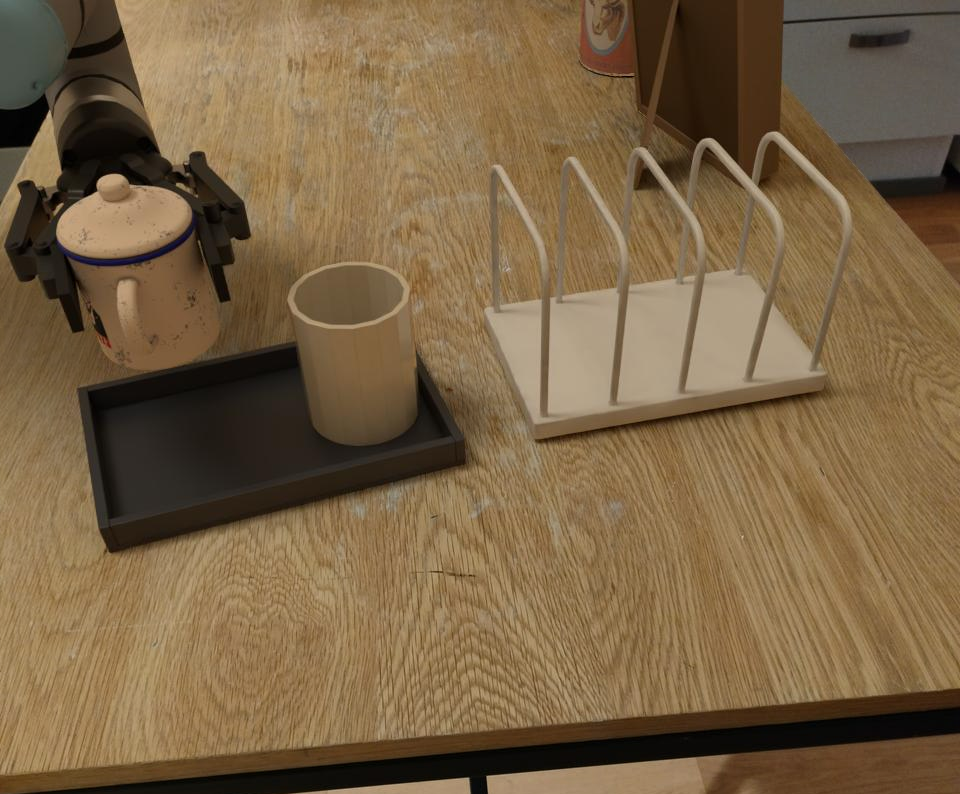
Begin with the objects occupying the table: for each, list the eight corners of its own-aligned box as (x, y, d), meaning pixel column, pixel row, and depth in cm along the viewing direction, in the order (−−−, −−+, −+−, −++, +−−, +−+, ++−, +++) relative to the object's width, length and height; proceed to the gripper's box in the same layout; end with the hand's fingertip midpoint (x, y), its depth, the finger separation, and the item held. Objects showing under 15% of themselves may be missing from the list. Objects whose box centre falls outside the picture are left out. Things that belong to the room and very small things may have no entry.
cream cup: (325, 460, 76) (303, 339, 68) (299, 395, 81) (276, 275, 73) (433, 434, 78) (425, 313, 69) (401, 372, 83) (389, 252, 75)
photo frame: (667, 104, 116) (700, -159, 97) (776, 180, 104) (839, -105, 84) (559, 129, 113) (571, -139, 93) (659, 211, 100) (697, -80, 81)
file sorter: (740, 285, 91) (777, 111, 79) (823, 395, 80) (880, 213, 68) (483, 324, 88) (480, 148, 75) (533, 444, 77) (539, 261, 65)
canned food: (561, 64, 125) (566, -46, 115) (608, 36, 130) (616, -70, 121) (636, 84, 120) (647, -28, 111) (681, 55, 126) (696, -54, 116)
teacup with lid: (105, 310, 73) (48, 153, 64) (226, 297, 74) (186, 141, 65) (88, 407, 66) (20, 246, 57) (222, 392, 66) (176, 231, 57)
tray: (108, 552, 70) (98, 529, 68) (86, 411, 81) (76, 387, 79) (466, 463, 76) (465, 439, 74) (401, 342, 86) (399, 318, 84)
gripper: (254, 173, 80) (318, 315, 67) (-15, 222, 76) (-4, 384, 63) (234, 76, 75) (301, 209, 61) (-58, 123, 70) (-56, 277, 57)
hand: (147, 297), depth 62 cm, fingers closed on teacup with lid, 9 cm apart
